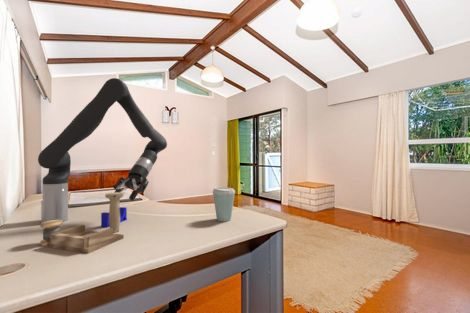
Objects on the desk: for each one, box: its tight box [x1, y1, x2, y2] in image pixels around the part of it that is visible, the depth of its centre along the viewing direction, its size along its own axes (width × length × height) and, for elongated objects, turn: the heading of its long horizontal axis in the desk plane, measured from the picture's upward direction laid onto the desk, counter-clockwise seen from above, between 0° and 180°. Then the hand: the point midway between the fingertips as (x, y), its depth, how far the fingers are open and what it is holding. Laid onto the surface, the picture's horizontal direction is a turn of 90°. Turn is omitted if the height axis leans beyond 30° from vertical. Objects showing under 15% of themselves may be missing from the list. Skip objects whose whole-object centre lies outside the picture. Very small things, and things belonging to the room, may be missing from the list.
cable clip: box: [100, 206, 128, 229], centre depth 103 cm, size 12×4×6 cm, turn 168°
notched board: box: [45, 224, 125, 254], centre depth 80 cm, size 18×14×4 cm
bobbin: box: [39, 220, 64, 247], centre depth 80 cm, size 6×6×7 cm
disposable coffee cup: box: [212, 186, 236, 222], centre depth 109 cm, size 11×11×15 cm
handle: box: [104, 191, 125, 233], centre depth 92 cm, size 5×6×15 cm
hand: (122, 198), depth 95 cm, fingers open, 8 cm apart
